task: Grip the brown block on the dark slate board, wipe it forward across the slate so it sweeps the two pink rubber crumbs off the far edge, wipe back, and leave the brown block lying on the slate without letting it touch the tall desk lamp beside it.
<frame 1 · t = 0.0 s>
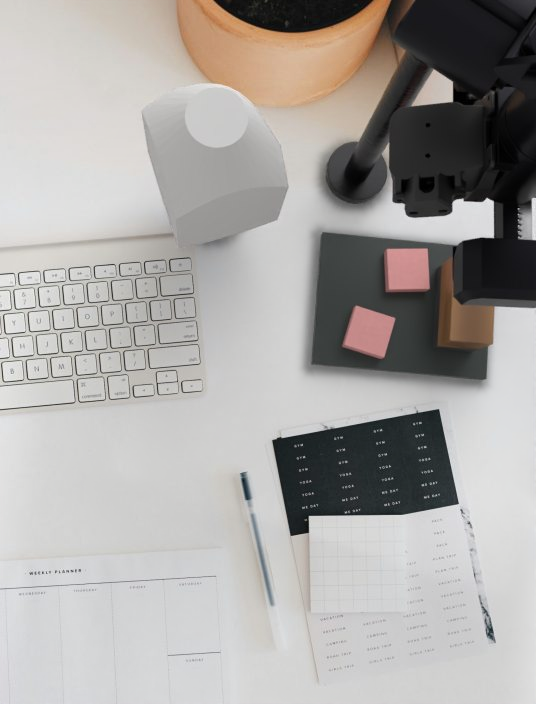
hand: (460, 210, 59), 15 cm above the table, tool pointing down, fingers open, 9 cm apart
brown block: (454, 309, 72), point 1 cm above the table, touching slate
crumb b: (367, 333, 71), point 1 cm above the table, touching slate
crumb a: (404, 271, 72), point 1 cm above the table, touching slate
light fixture: (211, 209, 73), on the table
slate: (401, 307, 73), on the table
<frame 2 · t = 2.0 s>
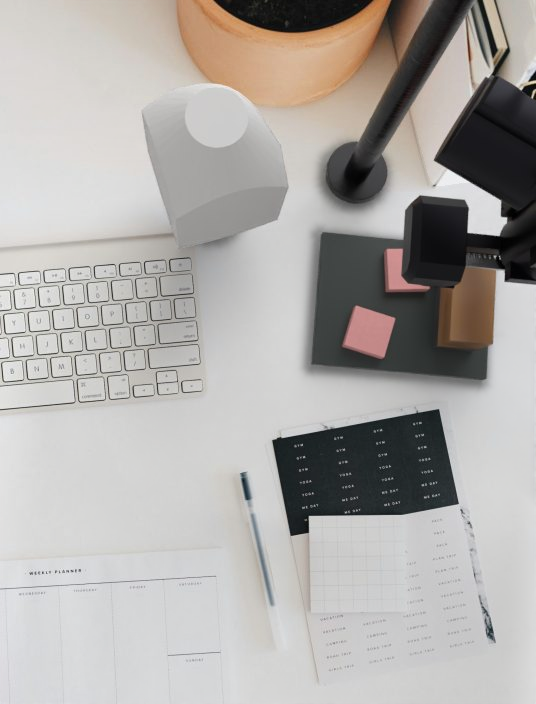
hand: (488, 278, 63), 10 cm above the table, tool pointing down, fingers open, 9 cm apart
nothing on the table moved.
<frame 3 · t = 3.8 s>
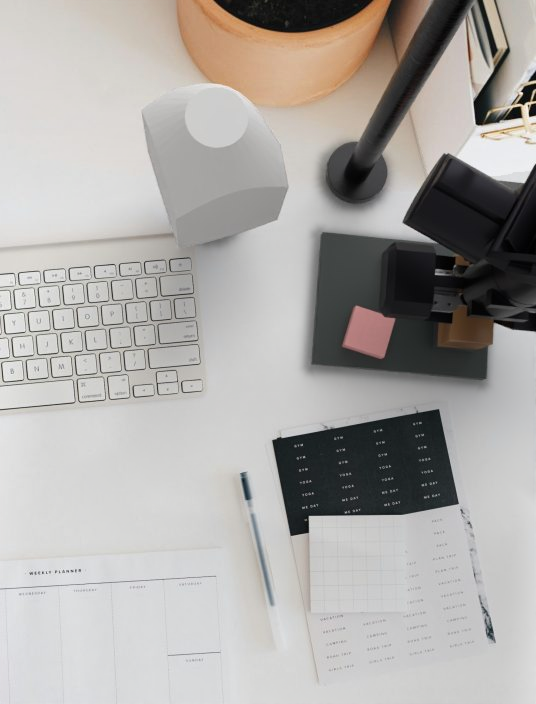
hand: (457, 308, 72), 2 cm above the table, tool pointing down, fingers closed on brown block, 4 cm apart
brown block: (454, 309, 72), point 1 cm above the table, touching gripper, slate
everything else where it was.
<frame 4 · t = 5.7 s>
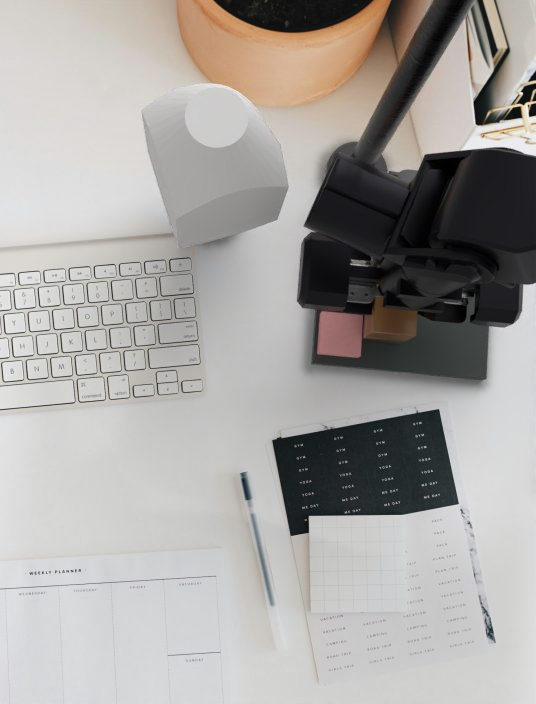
hand: (384, 300, 71), 2 cm above the table, tool pointing down, fingers closed on brown block, 4 cm apart
brown block: (383, 301, 72), point 1 cm above the table, touching crumb b, gripper
crumb b: (338, 335, 71), point 1 cm above the table, touching brown block
crumb a: (344, 263, 72), point 1 cm above the table, touching slate
everything else where it was.
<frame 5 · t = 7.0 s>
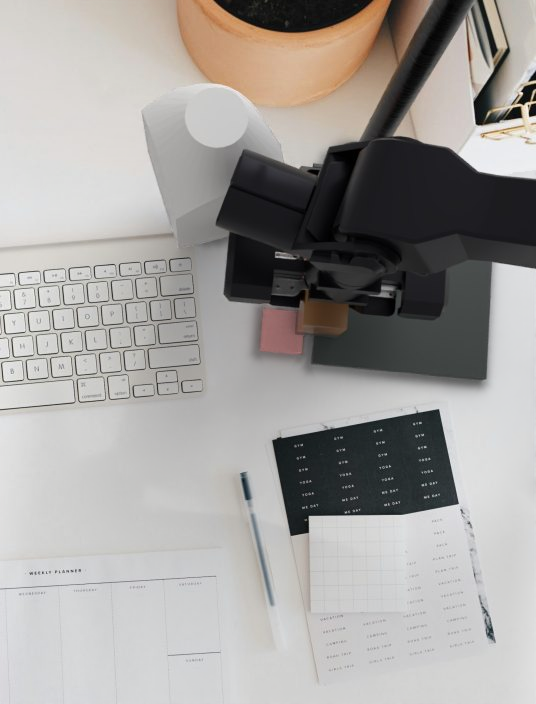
hand: (319, 294, 71), 2 cm above the table, tool pointing down, fingers closed on brown block, 4 cm apart
brown block: (318, 295, 71), point 1 cm above the table, touching gripper
crumb b: (281, 332, 72), on the table
crumb a: (286, 260, 73), on the table
everything else where it was.
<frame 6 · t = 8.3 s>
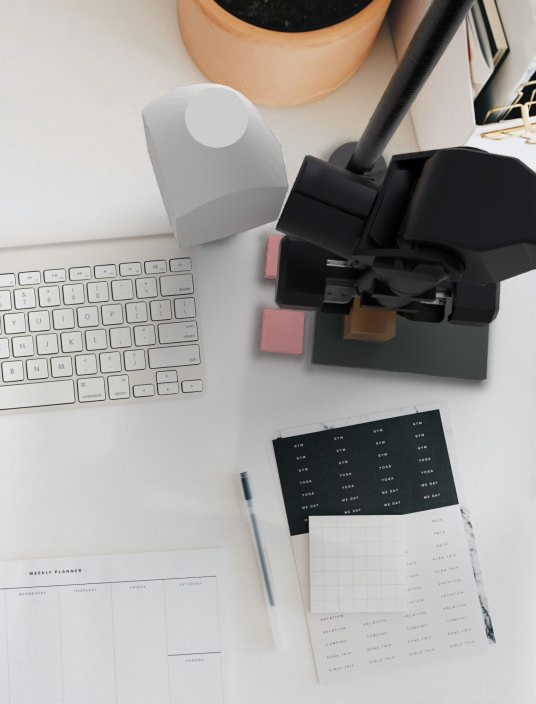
hand: (365, 301, 71), 2 cm above the table, tool pointing down, fingers closed on brown block, 4 cm apart
brown block: (363, 302, 72), point 1 cm above the table, touching gripper
everything else where it was.
when the fingers open (2 cm above the table, at t = 9.4 s): brown block stays where it is, resting on slate.
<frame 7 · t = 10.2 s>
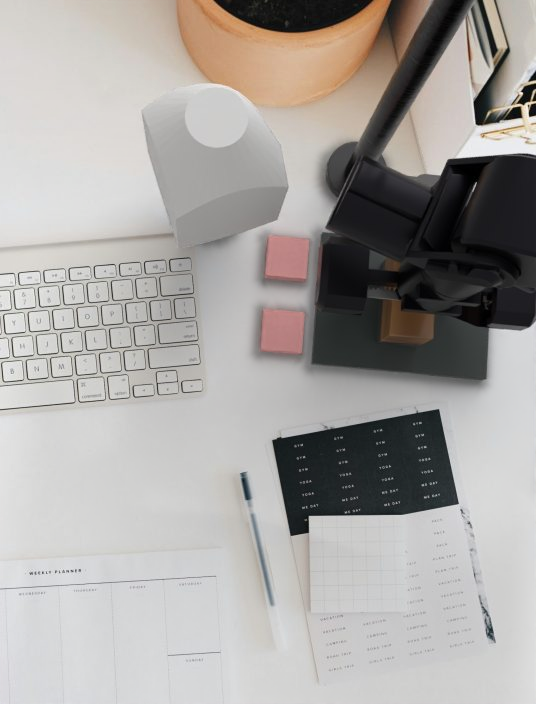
hand: (400, 303, 72), 1 cm above the table, tool pointing down, fingers open, 9 cm apart
brown block: (399, 304, 72), point 1 cm above the table, touching slate
everything else where it was.
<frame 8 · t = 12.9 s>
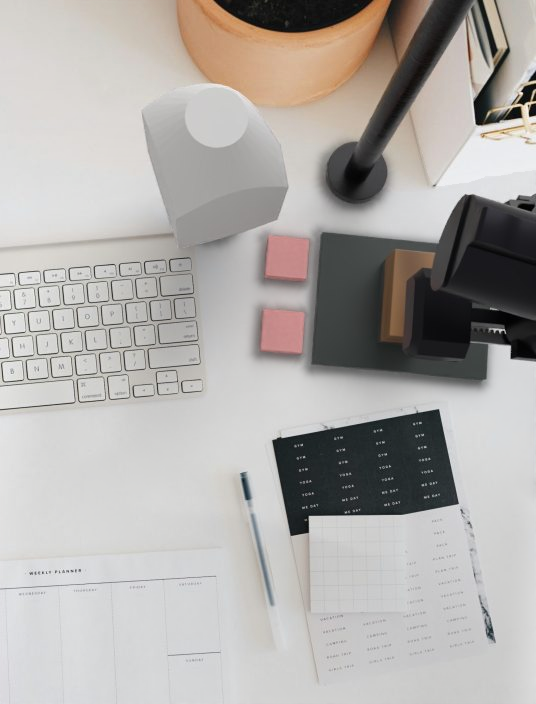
hand: (491, 342, 61), 12 cm above the table, tool pointing down, fingers open, 9 cm apart
nothing on the table moved.
at the end: crumb a on the table; crumb b on the table; brown block inside the target area on the slate (0.5 cm from its centre), point 1.0 cm above the slate's base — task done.
